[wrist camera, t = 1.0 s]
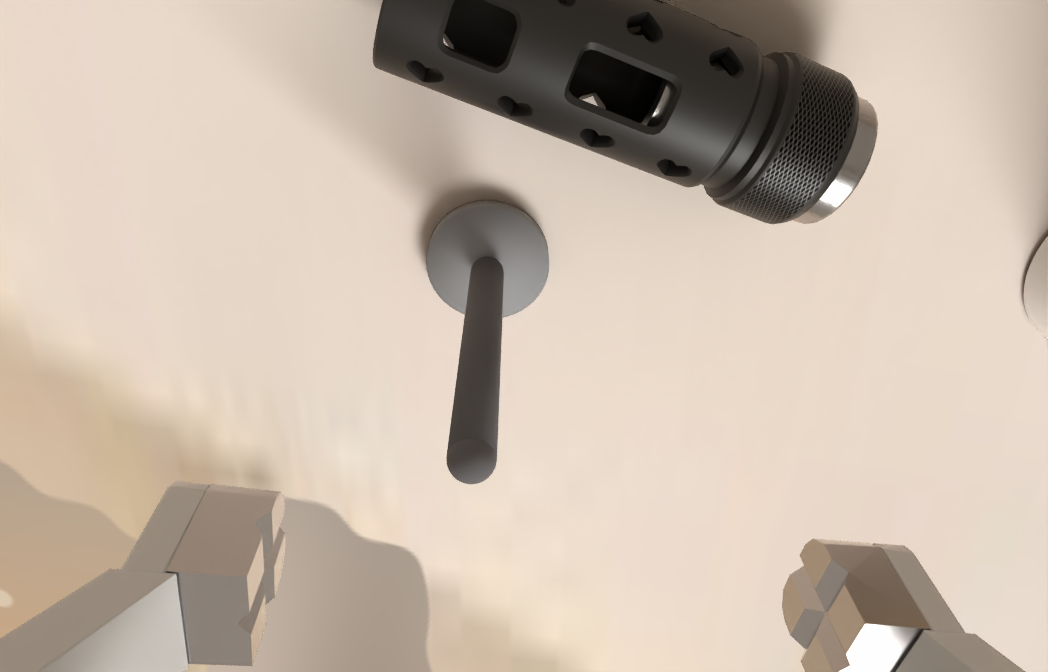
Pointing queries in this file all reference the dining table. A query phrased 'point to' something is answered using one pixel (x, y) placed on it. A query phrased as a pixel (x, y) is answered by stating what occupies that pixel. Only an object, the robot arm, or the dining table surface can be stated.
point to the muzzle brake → (646, 94)
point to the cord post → (483, 314)
